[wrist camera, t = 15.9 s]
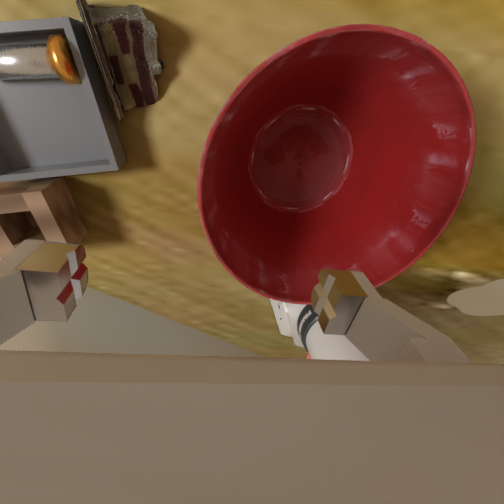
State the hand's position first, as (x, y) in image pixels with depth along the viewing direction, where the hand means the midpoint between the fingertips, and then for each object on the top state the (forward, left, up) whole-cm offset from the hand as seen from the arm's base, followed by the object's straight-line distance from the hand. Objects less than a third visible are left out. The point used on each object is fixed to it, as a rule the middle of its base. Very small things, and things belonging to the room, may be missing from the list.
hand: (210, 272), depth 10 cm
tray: (+4, +20, -33) cm, 39 cm away
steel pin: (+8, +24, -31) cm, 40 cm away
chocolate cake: (+8, +8, -34) cm, 35 cm away
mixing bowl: (-6, -12, -33) cm, 36 cm away
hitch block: (-9, +26, -33) cm, 43 cm away
